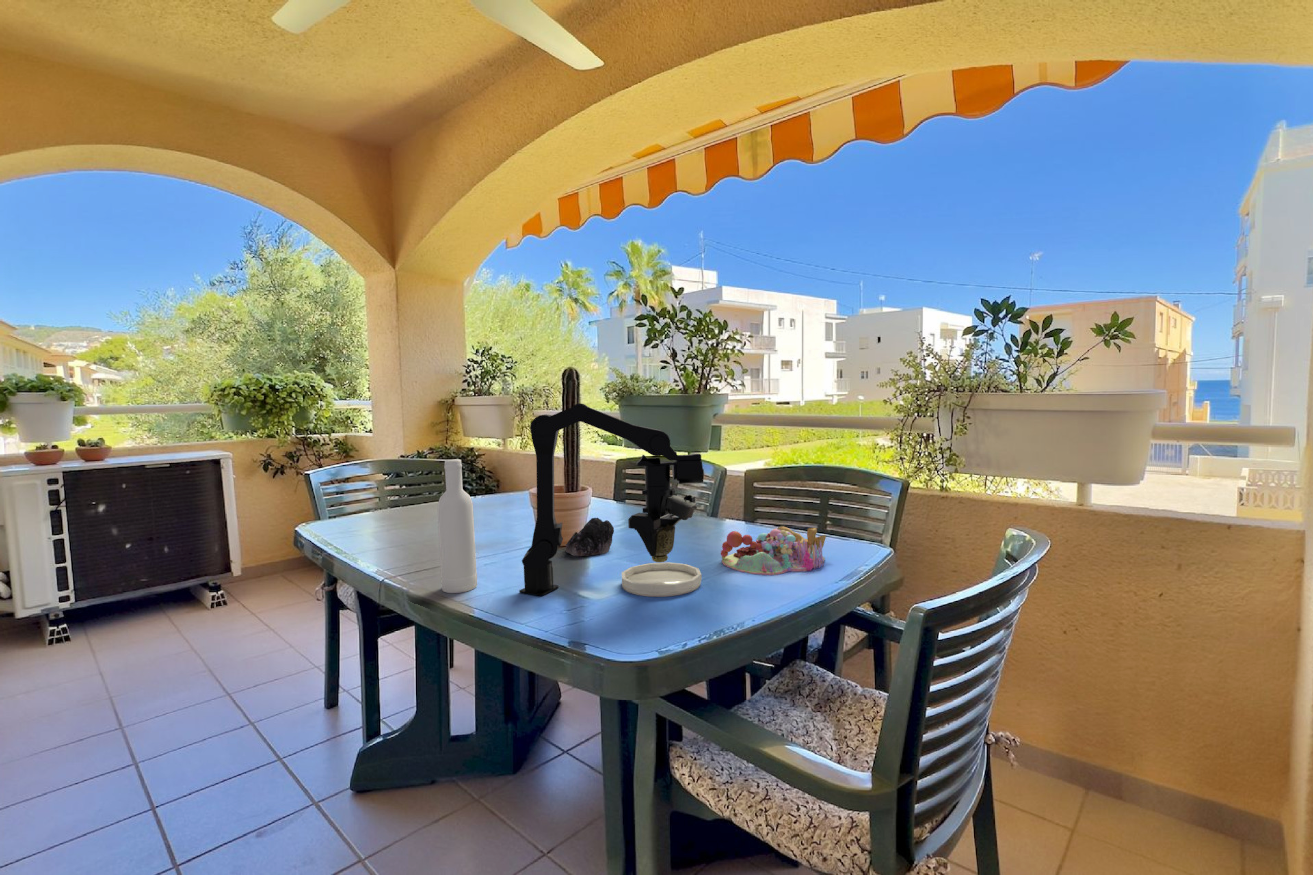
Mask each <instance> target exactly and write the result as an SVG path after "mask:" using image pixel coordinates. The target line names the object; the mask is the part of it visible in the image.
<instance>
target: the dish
mask: <svg viewBox="0 0 1313 875" xmlns="http://www.w3.org/2000/svg"><path fill="white" fill-rule="evenodd" d="M702 580H703V579H702V573H701V571H700V568H699V567H696V566H693V565H689V564H686V563H681V562H680V563H679V562H669V561H668V562H667V561H665V562H651V563H644V564H639V565H634V566H631V567H629V568H627V569H625V570H624V571H621V587H622V589H623V590H624V591H625V592H627V593H630V594H632V595H636V596H640V597H641V596H642V597H648V598H649V597H651V598H652V597H653V598H655V597H656V598H661V597H662V598H664V597H665V598H667V597H675V596H680V595H686V594H688V593H691V592H694V591H695V590H697V589H699V588H700V587H701V585H702V584H701V582H702Z"/></svg>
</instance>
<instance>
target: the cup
mask: <svg viewBox="0 0 1313 875" xmlns="http://www.w3.org/2000/svg"><path fill="white" fill-rule="evenodd" d="M659 527H662V525H661V524H660V526H659ZM675 533H676V526H675V527H674V526H673V525H671V526H670V525H669V524H668V525H667V527H664V528H662V529H661V531H660V532H659V533H658V536H657V548H656V555H655V556H654V557H653V556H651V560H652V561H653V563H665V562H667V561H668V558H669V556H668V555H669V554H671V552H672V551H673V548H674V544H675V536H676V534H675ZM645 549H646V551H647V552H648V550H647V548H646V547H645Z"/></svg>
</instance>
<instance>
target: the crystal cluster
mask: <svg viewBox="0 0 1313 875" xmlns="http://www.w3.org/2000/svg"><path fill="white" fill-rule="evenodd" d="M614 533H615V528H614V525H612V523H611V522H610V521H609V520H604V521H603V520H602V519H600V518H598V517H592V518H590V520H588V521H587V523H585V524H584V526H583V528H581V529H580V530H579V532H577V531H575V532H574V533H573V534H572V536H571V537H570V539H569V540H568V541H567V543H566V545H565V546H566V547H565V552H566V553H568V554H570V555H571V556H574V557H588V556H589V557H591V556H595V555H597V556H598V555H602V554H607V553H608V552H609V551H610V549H611V546H612V543H613V536H614Z"/></svg>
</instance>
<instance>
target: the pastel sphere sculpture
mask: <svg viewBox="0 0 1313 875" xmlns="http://www.w3.org/2000/svg"><path fill="white" fill-rule="evenodd" d="M817 533H818V528H816V527H809V528H807V532H806V536H807V538H805V537H804V536H802V535H801V534H800V533H797V532H795V531H793V530H792V529H791V528H788V527H786V526H779V527H778V528H777V527H776V528H773V529H771V530H770V532H768V533H766V532H761V533H759V534H758V537H756V538H755V541H753V537H752V536H751V535H750V534H744V535H743V536H742V533H740V532H739V531H736V530H734V531H732V530H731V532H729V533H728V534H727V535H726V541H724V542H723V543H722V545H721V548H722V550H721V551H720V556H721V562H722V565H724V566H725V567H727V568H730V569H732V570H735V571H738V572H741V573H746V574H751V575H762V576H764V575H765V576H776V575H782V574H784V573H787V572H810V571H812V570H813V569H818V568H819V569H820V568H822V567H824V565H825V559H826V558H825V557H824V556H823V548H824V545H825V540H827V535H826V534H823V535H819V536H816V535H817ZM742 544H743V545H745V546H743V547H740V546H741V545H742ZM738 547H740V548H738ZM734 548H735V549H736V548H738V549H736V552H734V553H732V554H729V553H730V552H731V551H732V550H733V549H734Z"/></svg>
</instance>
